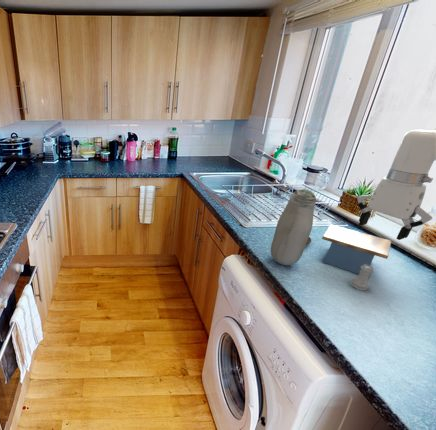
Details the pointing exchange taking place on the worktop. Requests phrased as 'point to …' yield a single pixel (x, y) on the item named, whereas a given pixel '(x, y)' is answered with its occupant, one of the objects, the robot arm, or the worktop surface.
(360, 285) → the rook chess piece
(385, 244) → the board
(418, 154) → the robot arm
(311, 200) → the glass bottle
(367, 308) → the worktop surface
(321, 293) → the worktop surface
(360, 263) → the blue box
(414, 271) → the worktop surface
